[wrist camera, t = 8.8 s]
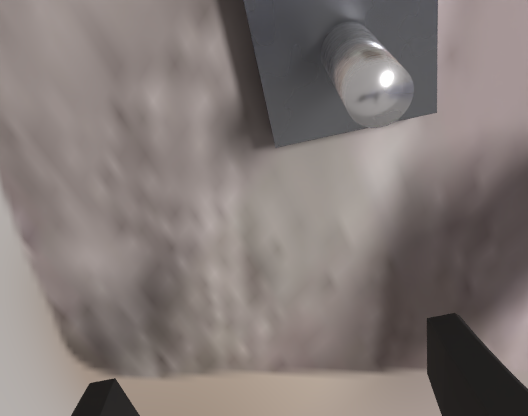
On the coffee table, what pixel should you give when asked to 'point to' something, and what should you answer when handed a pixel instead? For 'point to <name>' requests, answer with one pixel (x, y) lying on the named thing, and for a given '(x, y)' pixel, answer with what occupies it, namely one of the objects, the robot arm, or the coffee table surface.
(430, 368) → the robot arm
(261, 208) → the coffee table surface
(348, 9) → the grey base with peg
